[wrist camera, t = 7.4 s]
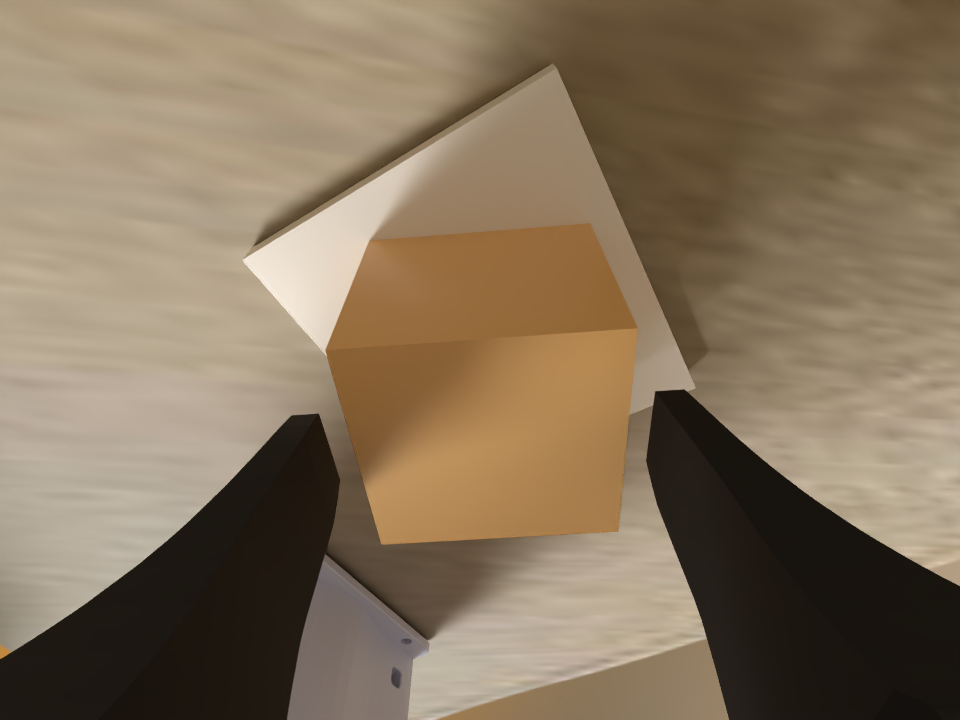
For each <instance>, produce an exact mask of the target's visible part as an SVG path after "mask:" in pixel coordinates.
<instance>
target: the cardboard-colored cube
mask: <svg viewBox="0 0 960 720" xmlns="http://www.w3.org/2000/svg"><path fill="white" fill-rule="evenodd" d="M637 332H638V327H637V325H636V323H635V321H634V319H633V316H632V314H631V312H630V310H629V308H628V305H627V303H626V301H625V299H624V297H623V294H622V292H621V290H620V288H619V286H618V283H617V281H616V279H615V277H614V275H613V272H612V270H611V268H610V266H609V264H608V261H607V259H606V257H605V255H604V253H603V250H602V248H601V246H600V244H599V242H598V239H597V237H596V235H595V233H594V231H593V228H592V226H591V224H590V223H588V224H575V225H562V226H549V227H537V228H524V229H511V230H498V231H486V232H473V233H460V234H447V235H435V236H422V237H409V238H396V239H384V240H371V241H369V242H368V245H367V247H366V250H365V252H364V255H363V257H362V260H361V262H360V265H359V267H358V270H357V272H356V275H355V277H354V280H353V282H352V285H351V287H350V290H349V292H348V295H347V297H346V300H345V302H344V305H343V307H342V310H341V312H340V315H339V317H338V320H337V322H336V325H335V327H334V330H333V332H332V335H331V337H330V340H329V342H328V345H327V347H326V350H325V351H326V355H327V358H328V362H329V365H330V368H331V372H332V375H333V379H334V382H335V386H336V389H337V393H338V396H339V400H340V403H341V406H342V410H343V413H344V417H345V420H346V424H347V427H348V431H349V434H350V438H351V441H352V445H353V448H354V451H355V455H356V458H357V462H358V465H359V469H360V472H361V476H362V479H363V483H364V486H365V489H366V493H367V496H368V500H369V503H370V507H371V510H372V514H373V517H374V521H375V524H376V527H377V531H378V534H379V538H380V541H381V545H384V544H402V543H420V542H438V541H456V540H474V539H492V538H510V537H528V536H546V535H564V534H582V533H600V532H618V528H619V518H620V507H621V497H622V487H623V476H624V466H625V456H626V445H627V435H628V425H629V414H630V404H631V394H632V384H633V373H634V363H635V353H636V342H637Z"/></svg>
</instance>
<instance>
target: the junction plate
mask: <svg viewBox="0 0 960 720" xmlns="http://www.w3.org/2000/svg"><path fill="white" fill-rule="evenodd" d="M588 223H590V224H591V226H592V228H593V231H594V233H595V235H596V237H597V239H598V242H599V244H600V246H601V248H602V250H603V253H604V255H605V257H606V259H607V261H608V264H609V266H610V268H611V270H612V272H613V275H614V277H615V279H616V281H617V283H618V286H619V288H620V290H621V292H622V294H623V297H624V299H625V301H626V303H627V305H628V308H629V310H630V312H631V314H632V316H633V319H634V321H635V323H636V325H637V327H638V332H637V342H636V353H635V363H634V373H633V384H632V394H631V404H630V414H629V415H631V414H633V413H636V412H638V411H641V410H643V409H645V408H648V407H650V406H653V403H654V396H655V391H666V390H681V389H685V390H686V391H687V392H688V391H690V390H693V389H695V388H696V387H695V385H694V383H693V380H692V378H691V376H690V373H689V371H688V369H687V366H686V364H685V362H684V360H683V357H682V355H681V353H680V350H679V348H678V346H677V343H676V341H675V339H674V337H673V334H672V332H671V330H670V327H669V325H668V323H667V320H666V318H665V316H664V314H663V311H662V309H661V307H660V304H659V302H658V300H657V297H656V295H655V293H654V291H653V288H652V286H651V284H650V281H649V279H648V277H647V274H646V272H645V270H644V268H643V265H642V263H641V261H640V258H639V256H638V254H637V251H636V249H635V247H634V245H633V242H632V240H631V238H630V235H629V233H628V231H627V228H626V226H625V224H624V222H623V219H622V217H621V215H620V212H619V210H618V208H617V205H616V203H615V201H614V199H613V196H612V194H611V192H610V189H609V187H608V185H607V182H606V180H605V178H604V176H603V173H602V171H601V169H600V166H599V164H598V162H597V159H596V157H595V155H594V153H593V150H592V148H591V146H590V143H589V141H588V139H587V136H586V134H585V132H584V130H583V127H582V125H581V123H580V120H579V118H578V116H577V113H576V111H575V109H574V107H573V104H572V102H571V100H570V97H569V95H568V93H567V90H566V88H565V86H564V84H563V81H562V79H561V77H560V74H559V72H558V70H557V68H556V67H555V65H554V64H553V63H552V64H551V65H549V66H547V67H546V68H544V69H543V70H541V71H539V72H538V73H536V74H534V75H533V76H531V77H530V78H528V79H526V80H525V81H523V82H521V83H520V84H518V85H516V86H515V87H513V88H512V89H510V90H508V91H507V92H505V93H503V94H502V95H500V96H499V97H497V98H495V99H494V100H492V101H490V102H489V103H487V104H485V105H484V106H482V107H481V108H479V109H477V110H476V111H474V112H472V113H471V114H469V115H468V116H466V117H464V118H463V119H461V120H459V121H458V122H456V123H454V124H453V125H451V126H450V127H448V128H446V129H445V130H443V131H441V132H440V133H438V134H437V135H435V136H433V137H432V138H430V139H428V140H427V141H425V142H424V143H422V144H420V145H419V146H417V147H415V148H414V149H412V150H410V151H409V152H407V153H406V154H404V155H402V156H401V157H399V158H397V159H396V160H394V161H393V162H391V163H389V164H388V165H386V166H384V167H383V168H381V169H379V170H378V171H376V172H375V173H373V174H371V175H370V176H368V177H366V178H365V179H363V180H362V181H360V182H358V183H357V184H355V185H353V186H352V187H350V188H348V189H347V190H345V191H344V192H342V193H340V194H339V195H337V196H335V197H334V198H332V199H331V200H329V201H327V202H326V203H324V204H322V205H321V206H319V207H318V208H316V209H314V210H313V211H311V212H309V213H308V214H306V215H304V216H303V217H301V218H300V219H298V220H296V221H295V222H293V223H291V224H290V225H288V226H287V227H285V228H283V229H282V230H280V231H278V232H277V233H275V234H273V235H272V236H270V237H269V238H267V239H265V240H264V241H262V242H260V243H259V244H257V245H256V246H254V247H252V248H251V250H250V251H249V252H248V253H247V255H246V256H245V257H244V258H243V259H242V261H243V262H244V263H245V264H246V265H247V266H248V267H249V269H250V270H251V271H252V272H253V273H254V274H255V275H256V276H257V278H258V279H259V280H260V281H261V282H262V283H263V284H264V286H265V287H266V288H267V289H268V290H269V291H270V292H271V293H272V295H273V296H274V297H275V298H276V299H277V300H278V301H279V303H280V304H281V305H282V306H283V307H284V308H285V309H286V310H287V312H288V313H289V314H290V315H291V316H292V317H293V318H294V320H295V321H296V322H297V323H298V324H299V325H300V326H301V327H302V329H303V330H304V331H305V332H306V333H307V334H308V335H309V337H310V338H311V339H312V340H313V341H314V342H315V343H316V344H317V346H318V347H319V348H320V349H321V350H322V351H323V352H324V354H325V355H326V351H325V350H326V347H327V345H328V342H329V340H330V337H331V335H332V332H333V330H334V327H335V325H336V322H337V320H338V317H339V315H340V312H341V310H342V307H343V305H344V302H345V300H346V297H347V295H348V292H349V290H350V287H351V285H352V282H353V280H354V277H355V275H356V272H357V270H358V267H359V265H360V262H361V260H362V257H363V255H364V252H365V250H366V247H367V245H368V242H369V241H371V240H384V239H396V238H409V237H422V236H435V235H447V234H460V233H473V232H486V231H498V230H511V229H524V228H537V227H549V226H562V225H575V224H588ZM326 356H327V355H326Z"/></svg>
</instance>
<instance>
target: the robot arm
mask: <svg viewBox="0 0 960 720" xmlns="http://www.w3.org/2000/svg"><path fill="white" fill-rule="evenodd" d="M646 462H647V466H648V470H649V475H650V479H651V483H652V487H653V491H654V494H655V498H656V502H657V505H658V508H659V510H660V513H661V516H662V518H663V521H664V523H665V526H666V529H667V531H668V534H669V536H670V539H671V541H672V544H673V546H674V549H675V551H676V554H677V557H678V559H679V562H680V564H681V567H682V569H683V572H684V574H685V577H686V579H687V582H688V584H689V587H690V589H691V592H692V594H693V597H694V599H695V602H696V605H697V608H698V611H699V614H700V617H701V620H702V623H703V626H704V630H705V633H706V637H707V640H708V644H709V647H710V651H711V654H712V658H713V661H714V665H715V668H716V671H717V675H718V679H719V683H720V687H721V691H722V694H723V698H724V702H725V705H726V709H727V713H728V716H729V720H960V586H958V585H956V584H955V583H952V582H950V581H949V580H947V579H945V578H942V577H941V576H939V575H937V574H935V573H934V572H932V571H930V570H928V569H926V568H924V567H922V566H921V565H919V564H917V563H915V562H913V561H912V560H910V559H908V558H906V557H905V556H903V555H901V554H900V553H898V552H896V551H894V550H893V549H891V548H889V547H888V546H886V545H884V544H882V543H881V542H879V541H877V540H876V539H874V538H872V537H871V536H869V535H867V534H866V533H864V532H863V531H861V530H859V529H858V528H856V527H855V526H853V525H852V524H850V523H849V522H847V521H846V520H844V519H843V518H841V517H840V516H838V515H837V514H835V513H834V512H832V511H831V510H829V509H828V508H826V507H825V506H823V505H822V504H820V503H819V502H817V501H816V500H815V499H813V498H812V497H810V496H809V495H808V494H806V493H805V492H803V491H802V490H801V489H799V488H798V487H797V486H796V485H794V484H793V483H792V482H790V481H789V480H788V479H786V478H785V477H784V476H783V475H781V474H780V473H779V472H777V471H776V470H775V469H774V468H772V467H771V466H770V465H769V464H767V463H766V462H765V461H764V460H762V459H761V458H760V457H759V456H758V455H757V454H755V453H754V452H753V451H752V450H751V449H750V448H748V447H747V446H746V445H745V444H744V443H743V442H741V441H740V440H739V439H738V438H737V437H736V436H735V435H734V434H732V433H731V432H730V431H729V430H728V429H727V428H726V427H725V426H724V425H723V424H721V423H720V422H719V421H718V420H717V419H716V418H715V417H714V416H713V415H712V414H711V413H710V412H708V411H707V410H706V409H705V408H704V407H703V406H702V405H701V404H700V403H699V402H698V401H697V400H695V399H694V398H693V397H692V396H691V395H690V394H689V393H688V392H687V391H686V390H685V389H681V390H666V391H655V396H654V403H653V411H652V419H651V427H650V435H649V443H648V451H647V459H646ZM339 484H340V478H339V475H338V472H337V469H336V466H335V463H334V459H333V456H332V453H331V450H330V447H329V444H328V441H327V437H326V434H325V431H324V428H323V425H322V422H321V419H320V415H319V414H308V415H293V416H291V417H290V418H289V419H288V420H287V421H286V422H285V423H284V424H283V425H282V426H281V427H280V428H279V429H278V430H277V431H276V432H275V434H274V435H273V436H272V437H271V438H270V439H269V440H268V441H267V442H266V443H265V445H264V446H263V447H262V448H261V449H260V450H259V451H258V452H257V453H256V454H255V455H254V457H253V458H252V459H251V460H250V461H249V462H248V463H247V464H246V465H245V466H244V467H243V468H242V469H241V470H240V471H239V472H238V473H237V475H236V476H235V477H234V478H233V479H232V480H231V481H230V482H229V483H228V484H227V485H226V486H225V487H224V488H223V489H222V490H221V491H220V492H219V493H218V494H217V495H216V496H215V497H214V498H213V499H212V500H211V501H210V502H209V503H208V504H206V505H205V506H204V507H203V508H202V509H201V510H200V511H199V512H198V513H197V514H196V515H195V516H194V517H193V518H192V519H191V520H190V521H189V522H188V523H187V524H186V525H185V526H183V527H182V528H181V529H180V530H179V531H178V532H177V533H176V534H174V535H173V536H172V537H171V538H170V539H169V540H168V541H166V542H165V543H164V544H163V545H162V546H160V547H159V548H158V549H157V550H156V551H154V552H153V553H152V554H151V555H150V556H148V557H147V558H146V559H145V560H143V561H142V562H141V563H140V564H138V565H137V566H136V567H135V568H133V569H132V570H131V571H129V572H128V573H127V574H125V575H124V576H123V577H121V578H120V579H119V580H117V581H116V582H115V583H113V584H112V585H110V586H109V587H108V588H106V589H105V590H104V591H102V592H101V593H100V594H98V595H97V596H96V597H94V598H93V599H92V600H90V601H89V602H88V603H86V604H85V605H83V606H82V607H80V608H79V609H78V610H76V611H75V612H73V613H72V614H70V615H69V616H67V617H66V618H64V619H63V620H61V621H60V622H58V623H57V624H55V625H54V626H52V627H51V628H49V629H48V630H46V631H45V632H43V633H41V634H40V635H38V636H37V637H35V638H34V639H32V640H31V641H29V642H27V643H26V644H24V645H23V646H21V647H20V648H18V649H16V650H15V651H13V652H11V653H10V654H8V655H7V656H5V657H3V658H2V659H0V720H407V719H408V709H409V698H410V687H411V676H412V665H413V659H414V658H417V657H420V656H424V655H426V654H427V653H428V652H429V642H428V641H427V640H426V639H425V638H423V637H422V636H421V635H420V634H419V633H418V632H416V631H415V630H414V629H413V628H412V627H410V626H409V625H408V624H407V623H406V622H405V621H403V620H402V619H401V618H400V617H399V616H398V615H396V614H395V613H394V612H393V611H392V610H390V609H389V608H388V607H387V606H386V605H385V604H383V603H382V602H381V601H380V600H379V599H377V598H376V597H375V596H374V595H373V594H372V593H370V592H369V591H368V590H367V589H366V588H365V587H363V586H362V585H361V584H360V583H359V582H357V581H356V580H355V579H354V578H353V577H352V576H350V575H349V574H348V573H347V572H346V571H345V570H343V569H342V568H341V567H340V566H339V565H337V564H336V563H335V562H334V561H333V560H332V559H330V558H329V557H328V556H327V555H326V554H325V553H326V549H327V546H328V542H329V538H330V535H331V531H332V527H333V524H334V518H335V512H336V506H337V499H338V492H339Z"/></svg>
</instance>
